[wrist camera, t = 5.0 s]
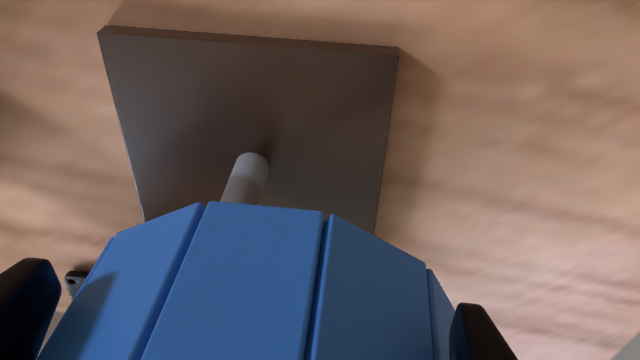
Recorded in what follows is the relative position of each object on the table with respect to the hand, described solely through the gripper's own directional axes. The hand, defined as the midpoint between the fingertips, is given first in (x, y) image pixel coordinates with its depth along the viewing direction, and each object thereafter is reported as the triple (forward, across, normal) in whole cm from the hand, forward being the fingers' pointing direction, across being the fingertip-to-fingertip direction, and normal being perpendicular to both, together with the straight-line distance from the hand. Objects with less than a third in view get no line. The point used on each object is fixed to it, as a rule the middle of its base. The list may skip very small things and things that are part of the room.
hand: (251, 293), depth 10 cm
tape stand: (+13, +3, +6) cm, 15 cm away
